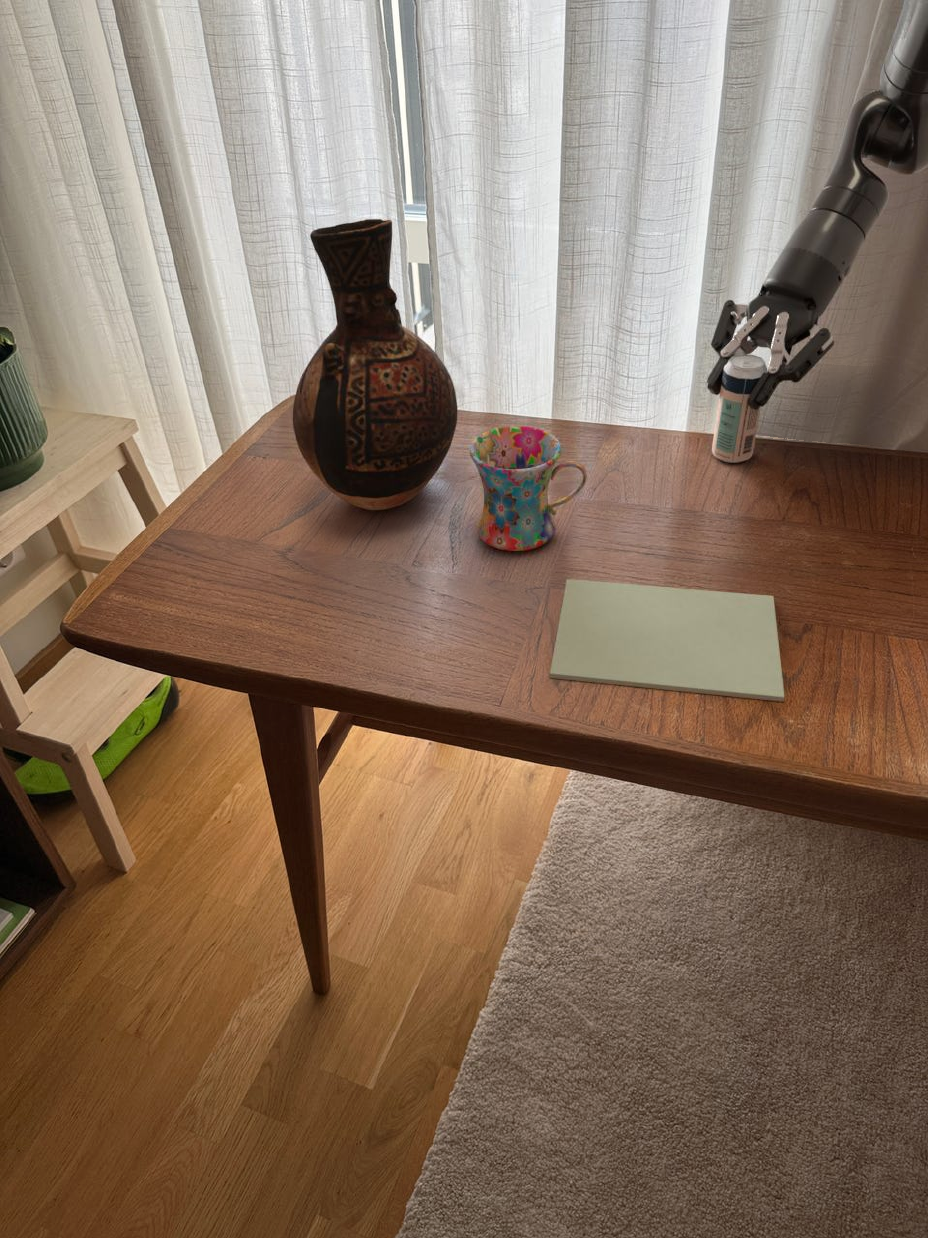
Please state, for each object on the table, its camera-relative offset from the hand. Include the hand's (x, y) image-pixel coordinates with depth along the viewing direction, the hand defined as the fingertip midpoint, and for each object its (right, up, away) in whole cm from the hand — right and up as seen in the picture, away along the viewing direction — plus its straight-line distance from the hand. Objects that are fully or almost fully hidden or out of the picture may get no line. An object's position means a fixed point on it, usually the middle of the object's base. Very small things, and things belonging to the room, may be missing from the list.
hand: (732, 398), depth 101 cm
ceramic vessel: (-40, -10, +4) cm, 41 cm away
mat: (-12, -27, -19) cm, 35 cm away
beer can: (+2, -6, +6) cm, 9 cm away
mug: (-24, -16, -5) cm, 29 cm away
